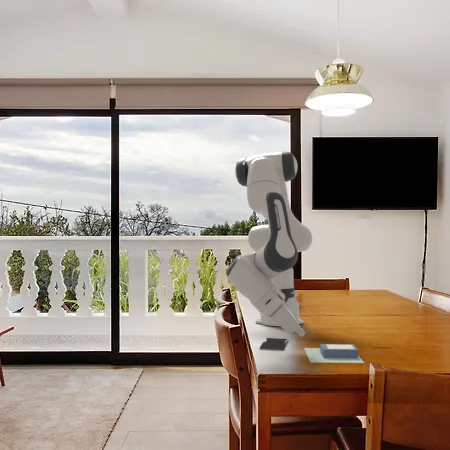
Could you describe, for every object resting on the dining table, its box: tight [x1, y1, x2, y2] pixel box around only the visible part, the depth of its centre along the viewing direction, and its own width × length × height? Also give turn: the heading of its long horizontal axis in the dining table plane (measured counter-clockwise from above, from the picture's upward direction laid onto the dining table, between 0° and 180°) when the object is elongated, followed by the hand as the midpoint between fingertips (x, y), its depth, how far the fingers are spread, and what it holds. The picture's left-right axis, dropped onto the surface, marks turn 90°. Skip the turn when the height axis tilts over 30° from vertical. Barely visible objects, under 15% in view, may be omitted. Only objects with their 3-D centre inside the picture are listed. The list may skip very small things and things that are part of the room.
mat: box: [303, 347, 365, 364], centre depth 146 cm, size 16×15×1 cm
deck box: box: [319, 343, 359, 358], centre depth 146 cm, size 6×2×10 cm
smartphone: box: [259, 337, 289, 352], centre depth 158 cm, size 8×1×15 cm
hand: (303, 334), depth 146 cm, fingers closed
